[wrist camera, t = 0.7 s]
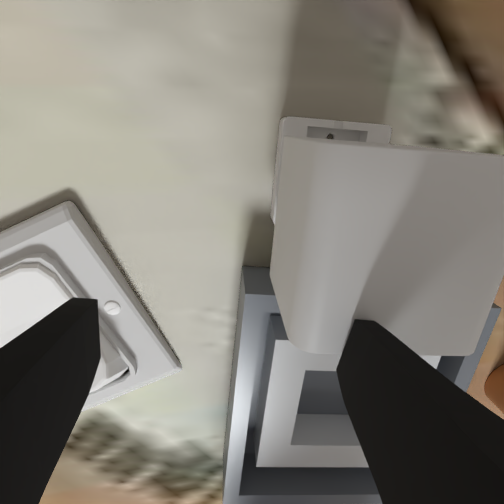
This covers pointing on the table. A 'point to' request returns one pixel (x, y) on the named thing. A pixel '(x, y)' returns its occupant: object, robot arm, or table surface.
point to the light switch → (81, 286)
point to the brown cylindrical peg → (496, 387)
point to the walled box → (298, 411)
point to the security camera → (383, 237)
